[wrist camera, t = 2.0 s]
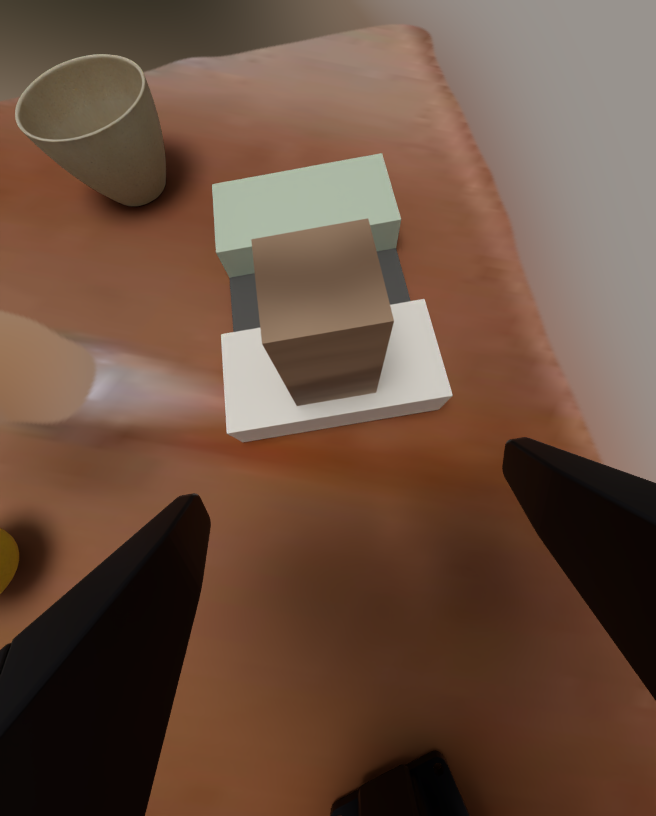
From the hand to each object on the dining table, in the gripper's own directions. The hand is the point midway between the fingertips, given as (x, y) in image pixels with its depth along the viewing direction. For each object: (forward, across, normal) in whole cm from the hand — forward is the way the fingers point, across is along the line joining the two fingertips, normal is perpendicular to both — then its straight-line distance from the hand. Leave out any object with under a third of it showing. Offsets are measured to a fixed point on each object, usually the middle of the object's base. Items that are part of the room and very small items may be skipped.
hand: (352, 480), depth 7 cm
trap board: (+20, 0, -1) cm, 20 cm away
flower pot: (+32, +15, -13) cm, 37 cm away
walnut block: (+13, 0, +2) cm, 13 cm away
